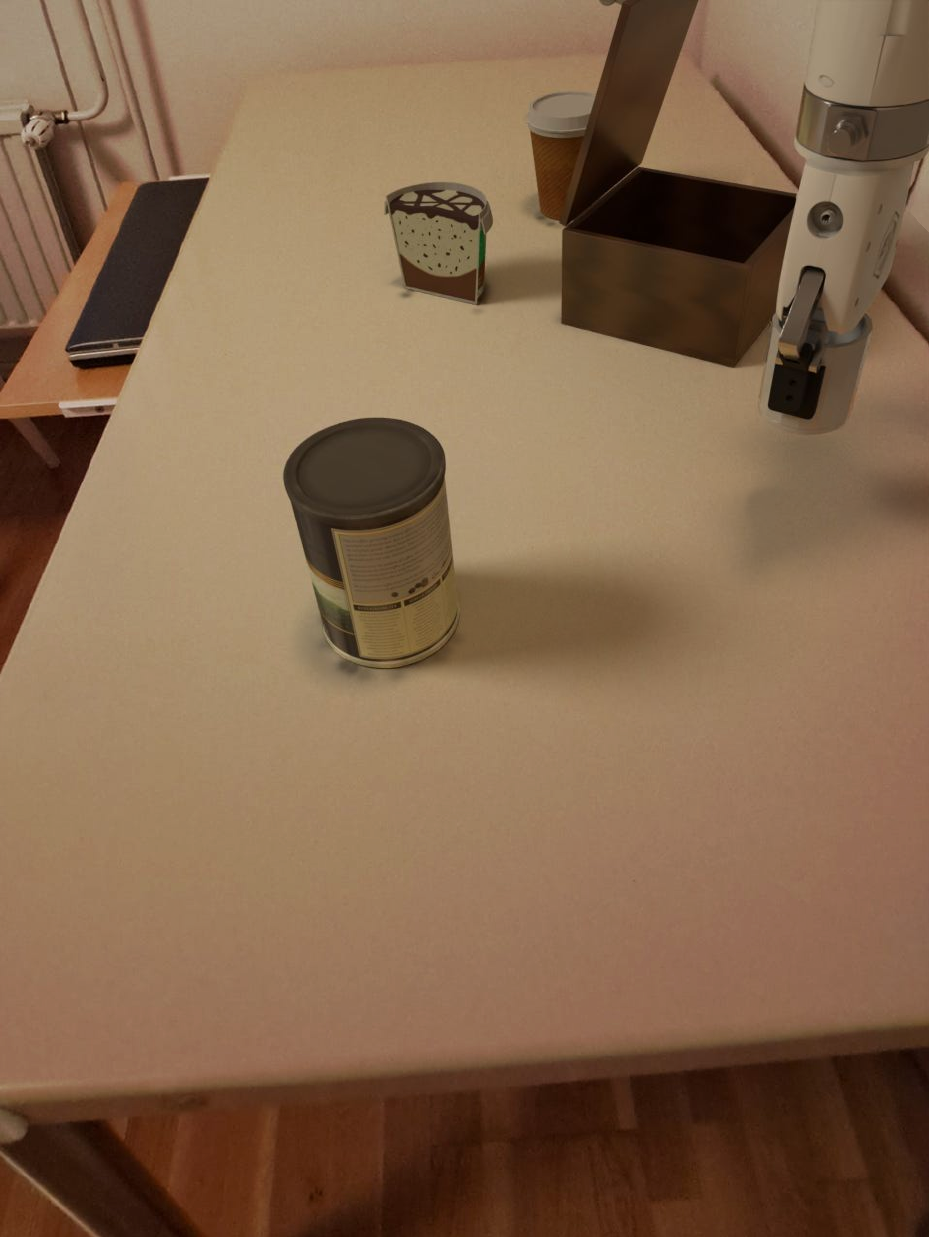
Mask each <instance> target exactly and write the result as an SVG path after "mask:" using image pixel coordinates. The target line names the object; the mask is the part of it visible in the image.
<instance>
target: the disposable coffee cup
mask: <svg viewBox="0 0 929 1237" xmlns="http://www.w3.org/2000/svg"><path fill="white" fill-rule="evenodd" d="M595 96H596V93H593V92H589V91H581V90H564V91H563V90H562V91H555V92H549V93H545V94H543V95H540V96H538V97H536V98H534V99H533V100H531V102H530V103H529V107H528V112H527V113H526V115H525V123H526V124H527V127H528V130H529V132H530V140H531V142H530V143H531V149H532V156H533V164H534V172H535V179H536V185H537V186H536V187H537V195H538V202H539V212H540V213H541V214H542V215H543V216H544V217H546V218H548V219H553V220H557V221H560V217H561V214H562V210H563V207H564V203H565V200H566V196H567V193H568V189H569V186H570V183H571V179H572V176H573V172H574V169H575V165H576V162H577V158H578V155H579V151H580V148H581V145H582V141H583V138H584V134H585V131H586V127H587V124H588V120H589V117H590V113H591V110H592V107H593V103H594V100H595ZM592 205H593V204H592ZM592 205H591V206H592ZM588 208H589V207H588ZM588 208H587V209H588ZM587 209H586V210H587ZM586 210H585V211H586ZM582 213H583V212H582ZM582 213H581V214H582ZM581 214H580V215H581ZM580 215H579V216H580ZM576 218H577V217H576ZM576 218H575V219H576ZM575 219H574V220H575Z"/></svg>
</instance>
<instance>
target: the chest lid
mask: <svg viewBox="0 0 929 1237" xmlns="http://www.w3.org/2000/svg"><path fill="white" fill-rule="evenodd" d="M598 2H599V3H600V4H601V5H602V6H604V7H610V6H612V5H614V4H615V3H616V4H618V5H620V6H621V7H620V10H619V13H618V18H617V20H616V24H615V26H614V31H613V34H612V38H611V41H610V45H609V48H608V50H607V51H608V52H607V56H606V59H605V62H604V66H603V68H602V72H601V76H600V79H599V82H598V86H597V90H596V93H595V94H596V96H595V100H594V103H593V107H592V110H591V113H590V117H589V120H588V124H587V127H586V131H585V134H584V138H583V141H582V145H581V148H580V151H579V155H578V158H577V162H576V165H575V169H574V172H573V176H572V179H571V183H570V186H569V189H568V193H567V196H566V200H565V203H564V207H563V210H562V214H561V217H560V220H558V224H559V225H562V226H563V227H564V228H565V227H567V226H568V225H569V224H570V223H571V222H572V221H574V220H575V218H576V217H578V216H579V215H580V214H581V213H582V212H584V211H585V210H586V209H587V208H588V207H590V206H591V205H593V204H594V203H595V202H596V201H598V200H599V199H600V198H601V197H602V196H604V195H605V194H606V193H607V192H608V191H610V190H611V189H612V188H613V187H614V186H616V185H617V184H618V183H619V182H620V181H622V180H623V179H624V178H625V177H626V176H628V175H629V174H630V173H631V172H632V171H634V170H635V169H636V168H637V167H640V165H641V164H642V163H643V160H644V157H645V155H646V152H647V149H648V146H649V143H650V140H651V137H652V135H653V132H654V129H655V126H656V124H657V120H658V117H659V114H660V112H661V109H662V106H663V104H664V100H665V98H666V95H667V91H668V89H669V86H670V84H671V80H672V77H673V75H674V71H675V69H676V66H677V63H678V60H679V57H680V55H681V52H682V49H683V46H684V43H685V40H686V37H687V35H688V32H689V29H690V25H691V23H692V20H693V17H694V14H695V11H696V9H697V6H698V3H699V0H598Z"/></svg>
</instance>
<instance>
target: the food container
mask: <svg viewBox="0 0 929 1237" xmlns="http://www.w3.org/2000/svg"><path fill="white" fill-rule="evenodd" d="M385 199H386V200H385V201H384V208H383V209H384V211H383V212H384V214H383V215H384V216H386V215H388V216H389V220H390V224H391V225H390V226H391V230H392V236H393V240H394V246H395V249H396V254H397V260H398V264H399V269H400V274H401V278H402V283H403V288H404V289H406V290H410V291H414V292H418V293H424V294H428V295H432V296H437V297H440V298H445V299H449V300H453V301H457V302H463V303H467V304H471V305H476V306H478V305H479V303H481V302H482V300H483V297H484V294H485V277H486V276H485V275H486V274H485V272H486V253H487V252H486V251H487V250H486V249H487V233H488V232H489V231H490V230H491V228H492V227H493V224H494V218H493V213H492V209H491V205H490V203H489V201H488V199H487V197H486V195H485V193H483V191H481V190H479V188H476V187H474V186H471V185H469V184H465V183H461V182H453V181H427V182H422V183H415V184H412V185H408V186H404V187H401V188H398V189H396V190H394V191H391V192H390V193H389V194H387V195H385Z"/></svg>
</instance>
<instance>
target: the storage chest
mask: <svg viewBox="0 0 929 1237" xmlns="http://www.w3.org/2000/svg"><path fill="white" fill-rule="evenodd" d="M796 196H797V193H795V192H790V191H783V190H778V189H771V188H766V187H760V186H755V185H748V184H743V183H738V182H732V181H725V180H719V179H715V178H707V177H701V176H695V175H689V174H684V173H679V172H673V171H667V170H661V169H655V168H649V167H644V166H638V167H636V168H635V169H634V170H633V171H632V172H630V173H629V174H628V175H627V176H626V177H624V178H623V179H622V180H621V181H620V182H618V183H617V184H616V185H615V186H614V187H612V188H611V189H610V190H609V191H608V192H606V193H605V194H604V195H603V196H602V197H600V198H599V199H598V200H597V201H596V202H594V203H593V204H592V206H590V207H589V208H588V209H587V210H586V211H584V212H583V213H582V214H581V215H580V216H578V217H577V218H576V219H574V220H573V221H572V222H571V223H569V224H568V225H567V226H566V227H565V226H564V228H563V229H562V230H561V238H562V239H561V312H560V313H561V316H560V317H561V318H560V323H561V324H563V325H567V326H570V327H574V328H578V329H582V330H586V331H590V332H594V333H597V334H601V335H605V336H609V337H613V338H617V339H621V340H624V341H628V342H633V343H636V344H640V345H643V346H649V347H652V348H655V349H660V350H664V351H667V352H671V353H676V354H679V355H684V356H688V357H691V358H695V359H698V360H702V361H706V362H711V363H713V364H717V365H723V366H725V367H726V366H727V367H730V368H734V367H735V366H736V365H737V364H738V362H739V361H740V359H741V358H742V357H743V356H744V354H745V353H746V352H747V351H748V350H749V348H750V347H751V346H752V345H753V343H754V342H755V341H756V340H757V338H758V337H759V336H760V334H761V333H762V332H763V331H764V329H765V328H766V327H767V326H768V325H769V323H770V322H771V321H772V317H773V315H774V314H775V313H776V304H777V295H778V288H779V282H780V276H781V270H782V265H783V260H784V255H785V250H786V245H787V240H788V235H789V231H790V226H791V221H792V217H793V212H794V208H795V204H796Z"/></svg>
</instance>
